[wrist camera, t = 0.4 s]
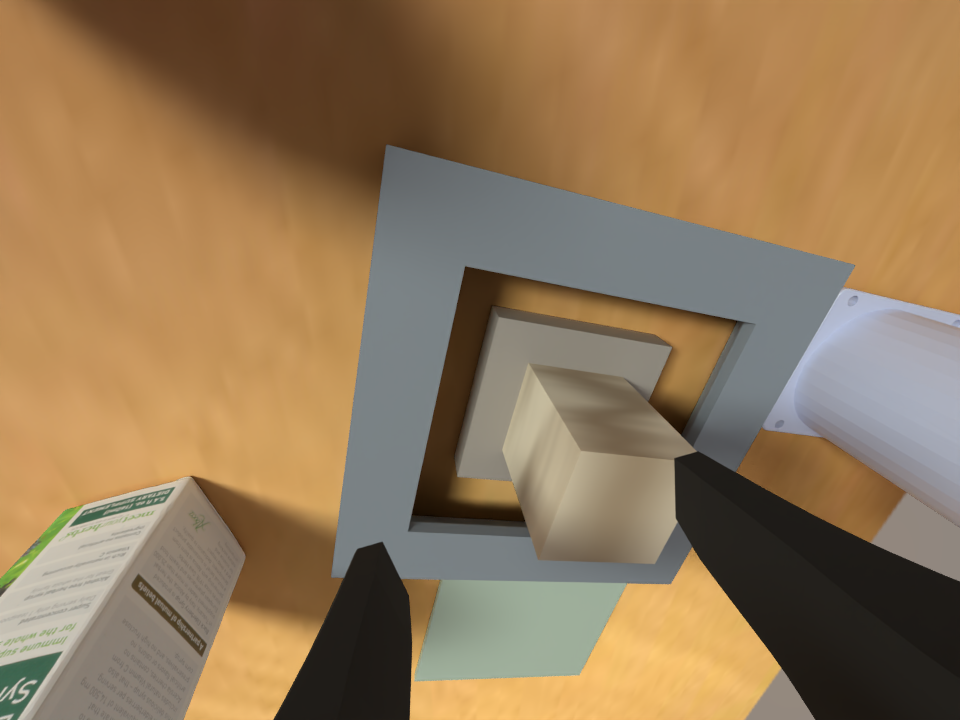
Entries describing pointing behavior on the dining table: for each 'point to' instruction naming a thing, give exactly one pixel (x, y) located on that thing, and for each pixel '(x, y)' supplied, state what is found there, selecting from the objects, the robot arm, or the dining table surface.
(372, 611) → the robot arm
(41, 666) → the syrup box
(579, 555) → the maple block
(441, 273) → the box
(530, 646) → the zone pad
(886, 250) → the dining table surface
